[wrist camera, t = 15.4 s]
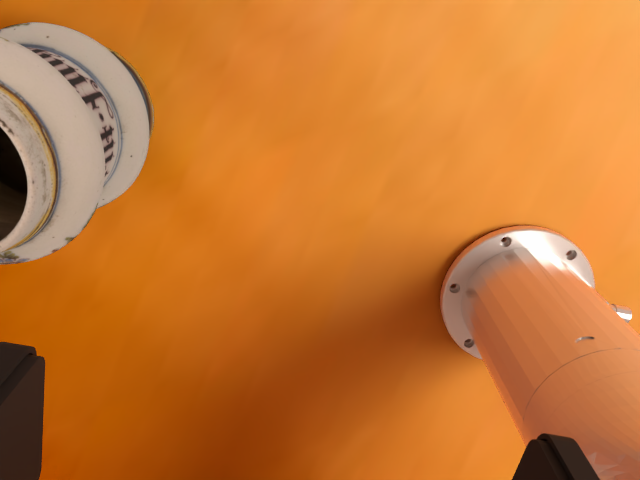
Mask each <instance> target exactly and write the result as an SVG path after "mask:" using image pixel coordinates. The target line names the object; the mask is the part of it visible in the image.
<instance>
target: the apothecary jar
mask: <svg viewBox="0 0 640 480" xmlns="http://www.w3.org/2000/svg"><path fill="white" fill-rule="evenodd" d="M153 124H154V110H153V105H152V101H151V98H150V95H149V92H148V90H147V88H146V85H145V83H144V82H143V80H142V78H141V77H140V75H139V74H138V72H137V71H136V70H135V69H134V67H133V66H132V65H131V64H130V63H129V62H128V61H127V60H125V59H124V58H123V57H122V56H120V55H119V54H118V53H116V52H115V51H113V50H111V49H109V48H107V47H105V46H103V45H101V44H100V43H98V42H97V41H95V40H94V39H92V38H90V37H88V36H86V35H84V34H82V33H80V32H78V31H75V30H73V29H70V28H67V27H63V26H59V25H55V24H49V23H38V22H33V23H22V24H17V25H12V26H8V27H5V28H3V29H0V264H15V263H23V262H28V261H32V260H36V259H39V258H42V257H44V256H47V255H49V254H51V253H53V252H55V251H57V250H59V249H61V248H62V247H64V246H65V245H66V244H68V243H69V242H70V241H72V240H73V239H74V238H75V237H76V236H77V235H78V234H79V233H80V232H81V231H82V230H83V229H84V228H85V226H86V225H87V224H88V222H89V221H90V219H91V218H92V216H93V214H94V212H95V210H96V209H97V208H99V207H102V206H104V205H106V204H108V203H110V202H111V201H113V200H115V199H116V198H117V197H119V196H120V195H121V194H123V193H124V192H125V191H126V190H127V189H128V188H129V187H130V186H131V185H132V183H133V182H134V181H135V179H136V178H137V176H138V175H139V173H140V171H141V169H142V167H143V164H144V162H145V159H146V155H147V151H148V146H149V138H150V137H151V135H152V130H153Z"/></svg>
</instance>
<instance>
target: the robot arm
mask: <svg viewBox="0 0 640 480" xmlns="http://www.w3.org/2000/svg"><path fill="white" fill-rule="evenodd" d="M504 237H505V239H504V240H502V238H504ZM568 251H569V252H568ZM567 252H568V253H567ZM452 284H455V285H453V286H451V285H452ZM440 309H441V314H442V317H443V321H444V323H445V326H446V328H447V330H448V332H449V334H450V335H451V337H452V338H453V340H454V341H455V342H456V343H457V344H458V345H459V346H460V347H461V348H462V349H463V350H464V351H466V352H467V353H469V354H471V355H472V356H474V357H476V358H478V359H481V360H483V361H484V363H485V365H486V367H487V369H488V371H489V373H490V375H491V377H492V379H493V381H494V383H495V385H496V387H497V389H498V391H499V393H500V395H501V397H502V399H503V401H504V403H505V405H506V407H507V409H508V411H509V413H510V415H511V417H512V419H513V421H514V423H515V425H516V427H517V429H518V431H519V433H520V435H521V437H522V439H523V441H524V443H525V445H526V449H525V452H524V454H523V456H522V458H521V461H520V463H519V465H518V467H517V470H516V472H515V474H514V476H513V479H512V480H640V335H639V334H638V333H637V332H636V331H635V330H634V329H633V328H632V327H631V326H630V325H629V324H628V322H629V321H630V320H631V316H632V312H631V309H630V308H629V307H626V306H621V305H615V304H609V303H608V302H607V301H606V300H605V299H604V298H603V297H602V296H601V295H600V294H599V293H598V292H597V291H596V290H595V281H594V274H593V271H592V268H591V266H590V263H589V261H588V259H587V258H586V256H585V255H584V254H583V252H582V251H581V250H580V249H579V248H578V247H577V246H576V245H575V244H574V243H573V242H572V241H570V240H569V239H567V238H566V237H565V236H563V235H562V234H560V233H557V232H555V231H553V230H550V229H548V228H543V227H538V226H513V227H507V228H503V229H500V230H497V231H494V232H491V233H489V234H487V235H485V236H483V237H481V238H479V239H478V240H476V241H475V242H473V243H472V244H471V245H469V246H468V247H467V248H466V249H464V250H463V251H462V253H461V254H460V255H459V256H458V257H457V258H456V259H455V260H454V262H453V264H452V265H451V267H450V268H449V270H448V272H447V274H446V276H445V279H444V281H443V284H442V289H441V295H440ZM44 379H45V360H44V358H43V357H41V356H37V355H36V350H35V348H34V347H31V346H25V345H19V344H13V343H7V342H0V480H39V477H40V473H41V462H42V434H43V407H44Z"/></svg>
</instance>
